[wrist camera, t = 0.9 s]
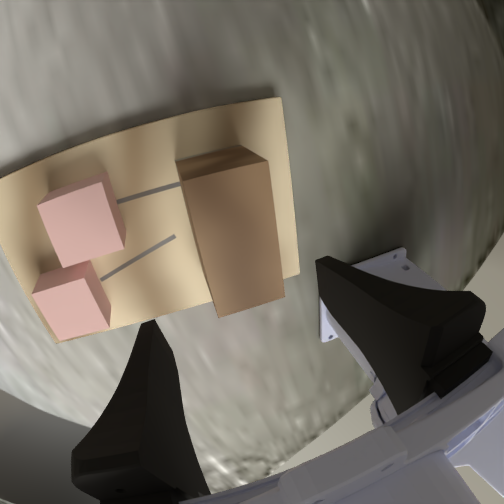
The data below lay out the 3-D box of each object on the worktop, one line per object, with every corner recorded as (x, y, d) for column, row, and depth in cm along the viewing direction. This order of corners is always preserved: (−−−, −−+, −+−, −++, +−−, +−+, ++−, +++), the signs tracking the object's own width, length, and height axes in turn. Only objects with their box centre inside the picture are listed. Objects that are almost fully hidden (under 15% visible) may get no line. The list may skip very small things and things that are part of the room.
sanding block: (240, 144, 18) (268, 160, 14) (258, 257, 23) (285, 296, 18) (174, 160, 18) (182, 181, 14) (203, 273, 22) (218, 318, 18)
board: (274, 96, 19) (280, 97, 18) (294, 267, 25) (299, 273, 24) (-15, 185, 15) (-22, 190, 14) (58, 335, 21) (56, 343, 21)
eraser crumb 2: (89, 258, 19) (84, 277, 17) (111, 306, 21) (109, 328, 19) (40, 274, 18) (31, 294, 16) (64, 319, 20) (59, 341, 18)
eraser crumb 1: (107, 171, 17) (101, 181, 15) (126, 231, 19) (124, 249, 17) (48, 192, 16) (36, 205, 14) (70, 249, 18) (63, 268, 16)
